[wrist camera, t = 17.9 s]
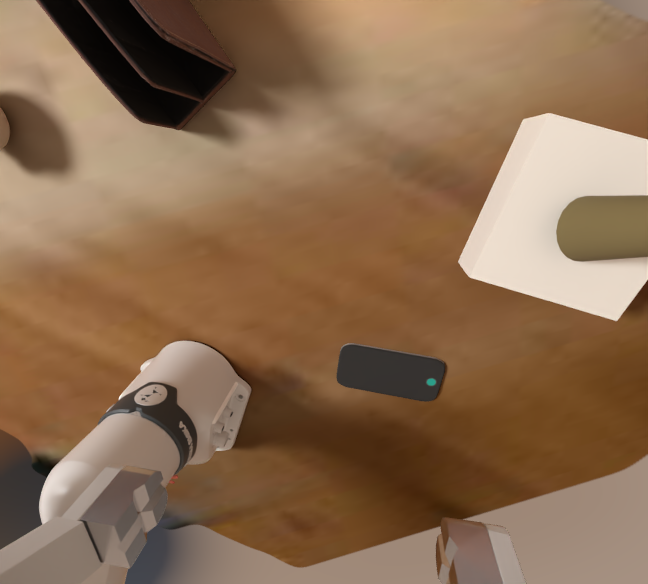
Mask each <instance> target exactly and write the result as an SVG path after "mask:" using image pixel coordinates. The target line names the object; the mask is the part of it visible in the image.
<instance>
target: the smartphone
mask: <svg viewBox="0 0 648 584" xmlns="http://www.w3.org/2000/svg"><path fill="white" fill-rule="evenodd" d="M444 372H445V365H444V362H443V361H441V360H440V359H438V358H435V357H429V356H424V355H418V354H412V353H406V352H400V351H395V350H389V349H383V348H377V347H372V346H366V345H360V344H354V343H349V344H345V345H343V347H342V348H341V351H340V356H339V363H338V369H337V381H338V383H340V384H341V385H343V386H345V387H349V388H355V389H360V390H365V391H371V392H376V393H381V394H387V395H392V396H397V397H403V398H408V399H413V400H419V401H432V400H434V399H435V398H436V396H437V394H438V392H439V389H440V385H441V382H442V379H443V376H444Z"/></svg>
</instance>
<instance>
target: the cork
mask: <svg viewBox="0 0 648 584" xmlns="http://www.w3.org/2000/svg"><path fill="white" fill-rule="evenodd" d="M556 235H557V243H558V245H559V248H560V250H561V251H562V253H563V254H564V255H565V256H566V257H567V258H569V259H571V260H573V261H580V262H585V261H598V260H612V259H625V258H639V257H648V195H626V196H583V197H579V198H577V199H575V200H574V201H572V202H570V203H569V204H568V205H567V207H566V208H565V209H564V210H563V211H562V214H561V216H560V218H559V220H558V224H557V230H556Z"/></svg>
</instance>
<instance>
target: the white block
mask: <svg viewBox="0 0 648 584" xmlns="http://www.w3.org/2000/svg"><path fill="white" fill-rule="evenodd" d="M626 195H648V140H647V139H643V138H639V137H636V136H632V135H628V134H625V133H621V132H617V131H614V130H610V129H606V128H603V127H599V126H595V125H591V124H588V123H584V122H580V121H577V120H573V119H569V118H566V117H562V116H558V115H555V114H551V113H547V114H543V115H539V116H535V117H531V118H527V119H523V121H522V123H521V126H520V128H519V130H518V132H517V134H516V136H515V139H514V141H513V143H512V145H511V147H510V150H509V152H508V154H507V156H506V158H505V160H504V163H503V165H502V167H501V169H500V171H499V174H498V176H497V178H496V180H495V182H494V184H493V187H492V189H491V191H490V193H489V195H488V198H487V200H486V202H485V204H484V206H483V208H482V211H481V213H480V215H479V217H478V219H477V222H476V224H475V226H474V228H473V230H472V232H471V235H470V237H469V239H468V241H467V243H466V246H465V248H464V250H463V252H462V254H461V257H460V259H459V261H458V263H459V264H460V266H461V267H462V268H463V270H464V271H465V272H466V274H467V275H468V276H469V277H470V278H473V279H477V280H480V281H484V282H487V283H490V284H494V285H497V286H500V287H504V288H507V289H511V290H514V291H517V292H521V293H524V294H527V295H531V296H534V297H538V298H541V299H544V300H548V301H551V302H554V303H558V304H561V305H565V306H568V307H571V308H575V309H578V310H581V311H585V312H588V313H592V314H595V315H598V316H602V317H605V318H608V319H612V320H615V321H617V320H618V319H619V318H620V316H621V315H622V313H623V312H624V311H625V309H626V308H627V307H628V305H629V304H630V303H631V301H632V300H633V299H634V297H635V296H636V295H637V293H638V292H639V291H640V289H641V288H642V287H643V285H644V284H645V283H646V281H647V280H648V257H639V258H625V259H612V260H598V261H585V262H580V261H573V260H571V259H569V258H567V257H566V256H565V255H564V254H563V253H562V251H561V250H560V248H559V245H558V243H557V235H556V230H557V224H558V220H559V218H560V216H561V214H562V211H563V210H564V209H565V208H566V207H567V205H568V204H569V203H570V202H572V201H574V200H575V199H577V198H579V197H583V196H626Z"/></svg>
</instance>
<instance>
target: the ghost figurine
mask: <svg viewBox="0 0 648 584" xmlns="http://www.w3.org/2000/svg"><path fill="white" fill-rule="evenodd" d="M9 137H10V127H9V123H8V120H7V118H6V116H5V114H4V112H3V111H2V109H1V108H0V151H1V149H2V148H3V147H4V146H6V145H7V143H8V141H9Z"/></svg>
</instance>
